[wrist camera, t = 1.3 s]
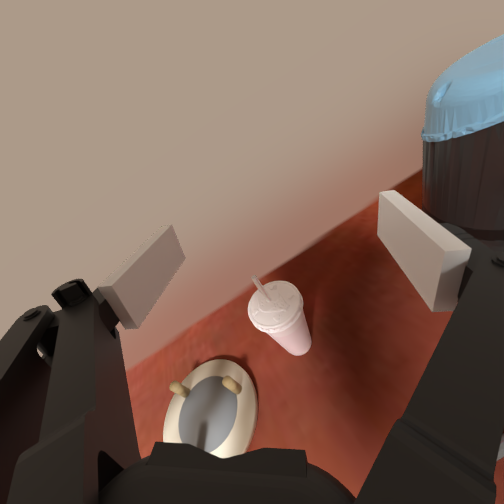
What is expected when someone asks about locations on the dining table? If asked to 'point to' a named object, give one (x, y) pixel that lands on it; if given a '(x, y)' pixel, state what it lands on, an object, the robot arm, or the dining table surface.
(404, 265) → the robot arm
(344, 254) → the dining table surface
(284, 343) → the smoothie
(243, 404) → the cup holder base
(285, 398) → the dining table surface
